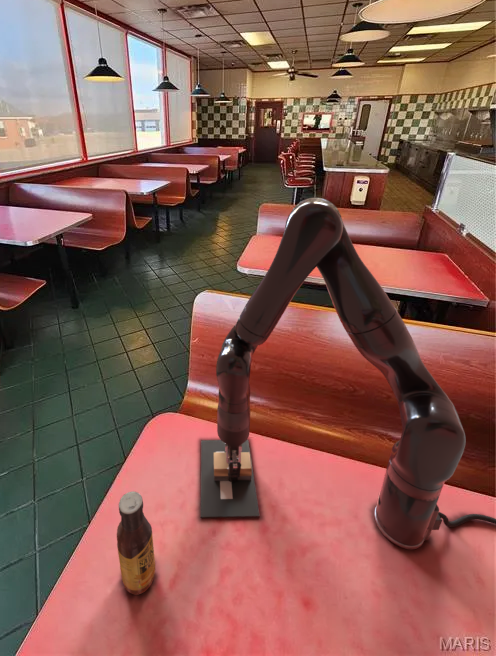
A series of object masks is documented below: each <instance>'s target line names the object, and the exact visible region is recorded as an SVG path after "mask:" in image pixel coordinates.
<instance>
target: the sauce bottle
mask: <svg viewBox="0 0 496 656" xmlns="http://www.w3.org/2000/svg"><path fill="white" fill-rule="evenodd" d="M118 513H119V515H120V522H119V523H118V526H117V529H116V546H117V547H116V548H117V555H118V561H119V568H120V574H121V576H120V577H121V581H122V583H123V586H124V588H125V590H126V591H127V592H128V593H129V594H131V595H136V596H137V595H141V594H143V593H145V592H146V591H147V590H148V589H149V588H150V587H151V585H152V583H153V581H154V579H155V572H156V558H155V549H154V538H153V537H154V536H153V528H152V524H151V523H150V522H149V520H148V519H147V518H146V516H145V514H144V500H143V496H142V495H141V493H139V492H138V491H135V490H133V491H128V492H126V493H125V494H123V495H122V497H120V499H119V502H118Z"/></svg>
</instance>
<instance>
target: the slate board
mask: <svg viewBox="0 0 496 656" xmlns="http://www.w3.org/2000/svg"><path fill="white" fill-rule="evenodd" d="M200 442H201V443H200V450H201V451H200V519H227V518H230V519H231V518H232V519H234V518H236V519H237V518H260V517H261V515H260V509H259V502H258V497H257V496H258V495H257V489H256V481H255V474H254V468H253V462H252V454H251V449H250V441H249V439H247V440H246V441H245V442H244V443H243V444H242V451H241V452H250V459H251V466H252V474H251V480H238V481H236V482H230V481H228V480H222V481H214V453H217V452H226V451H225V443H224V442H223V441H222V440H221V439H201V441H200Z"/></svg>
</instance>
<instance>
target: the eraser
mask: <svg viewBox="0 0 496 656" xmlns="http://www.w3.org/2000/svg"><path fill="white" fill-rule="evenodd" d="M250 454H251V451H250V452H241V469H240V477H238V480H251V474H252V467H253V465H252V466H251V461H252V458H251V459H250ZM228 456H229V452H228ZM229 457H230V456H229ZM237 457H238V456H237ZM222 480H228V463H227V462H226V452H217V453H214V481H222Z"/></svg>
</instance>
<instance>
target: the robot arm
mask: <svg viewBox="0 0 496 656" xmlns="http://www.w3.org/2000/svg"><path fill="white" fill-rule="evenodd" d="M280 239H281V240H280V243H279V245H278V249H277V251H276V253H275V255H274V258H273V260H272V262H271V264H270V266H269V268H268V269H267V271H266V273H265V275H264V276H263V278H262V279H261V281H260V282H259V284H258V285H257V287H255V289H254V291H253V292H252V293H251V296H250V297H249V299H248V300H247V302H246V304H245V305H244V308H243V309H242V310H241V313H240V315H239V317H238V318H237V320H236V323H235V324H234V325H233V327H232V328H231V329H230V331H228V333H227V335H226V336H225V338H224V340H223V342H222V344H221V347H220V350H219V354H218V356H217V359H216V364H215V365H216V366H215V372H216V382H217V386H218V404H217V410H216V413H217V414H216V418H217V419H216V432H217V436H218V438H219V440H222V441H223V442H224V443H225V451H226V462H227V463H228V481H230V482H236V481H238V477H240V469H241V451H242V444H243V443H244V442H245V441H246V440H249V438H250V430H251V429H250V428H251V385H250V379H251V378H250V377H251V370H252V369H251V368H252V363H253V358H254V357H253V356H254V353H255V351H256V349H257V348H258V347H259V346H261V345H263V344H264V343H266V341H267V340H268V339H269V338H270V336H271V335H272V333H273V331H274V329H275V328H276V327H277V325H278V323H279V322H280V320H281V318H282V317H283V315H284V314H285V312H286V310H287V308H288V307H289V305H290V304H291V301H292V300H293V298H294V296H295V295H296V294H297V292H298V290H299V289H300V288H301V286H303V284H304V282H305V281H306V279H307V278H308V277H309V276H310V274H311V273H312V272H313V271H314V270H315V269H317V270H318V272H319V274H320V275H321V277H322V279H323V281H324V283H325V285H326V289H327V291H328V294H329V297H330V299H331V302H332V305H333V307H334V311H335V312H336V314H337V317H338V319H339V322H340V323H341V325H342V327H343V329H344V330H345V333H346V334H347V335H348V337H349V338H350V340H351V342H352V344H353V345H354V347H355V348H356V349H357V351H358V352H359V354H360V355H361V356H362V357H363V358H364V359H365V360H366V361H368V363H370V364H371V365H372V366H373V367H375V368H376V369H377V370H378V371H379V372H380V373H381V374H382V375H383V376H384V378H385V380H386V381H387V383H388V385H389V387H390V389H391V391H392V393H393V395H394V397H395V400H396V402H397V405H398V409H399V416H400V420H401V421H400V422H401V428H402V429H401V435H400V438H399V440H397V441H396V442H395V443H393V445H392V447H391V451H390V455H389V458H388V462H387V465H386V470H385V473H384V477H383V479H382V484H381V488H380V491H379V494H378V496H377V497H378V498H377V503H376V506H375V508H374V513H373V517H374V521H375V524H376V526H377V528H378V529H379V531H380V533H381V534H382V535H383V536H384V537H385V538H386V539H387V540H388V541H389V542H390V543H392V544H393V545H395V546H397V547H399V548H402V549H406V550H416V549H418V548H420V547H421V546H423V544H424V541H429V539H430V537H431V534H432V531H439V530H440V527H441V525H442V522H443V523H444V524H443V525H445V526H447V527H448V528H455V527H458V526H461V525H463V524H464V523H467V522H469V521H473V520H475V521H485V522H487V523H488V522H489V523H491V524H495V525H496V518H495V517H493V516H489V515H486V514H485V515H484V514H481V513H480V514H479V513H468V514H465V515H463V516H460V517H458V518H456V519H454V520H451V521H450V520H449V518H448V516H447V515H446V514H445V513H443V512H441V511H440V508H439V505H438V501H439V498H440V496H441V493H442V491H443V487H444V484H445V482H447V481H448V480H450V479H451V478H452V477H453V475H454V473H455V472H456V469H457V467H458V465H459V463H460V461H461V459H462V456H463V454H464V452H465V447H466V443H467V442H466V440H467V439H466V437H467V436H466V433H465V429H464V428H463V424H462V421H461V419H460V417H459V413H458V411H457V409H456V407H455V405H454V403H453V401H452V400H451V398H450V397H449V396H448V395H447V393H446V392H445V391H444V390H443V388H442V387H441V385H440V384H439V383H438V382H437V380H436V379H435V377H434V376H433V375H432V373H431V372H430V371H429V370H428V368H427V367H426V365H425V363H424V362H423V360H422V358H421V355H420V353H419V350H418V348H417V346H416V344H415V341H414V339H413V337H412V335H411V334H410V332H409V330H408V327H407V326H406V324H405V321H404V320H403V318H402V317H401V315H400V313H399V311H398V310H397V308H396V306H395V304H394V303H393V302H392V301H391V298H389V296H388V294H387V293H386V291H385V290H384V288H383V287H382V286H381V284H380V283H379V282H378V280H377V279H376V277H375V276H374V275H373V273H372V272H371V271H370V270H369V268H368V267H367V266H366V264H365V263H364V261H363V260H362V259H361V257H360V255H359V253H358V252H357V250H356V248H355V246H354V244H353V242H352V239H351V238H350V235H349V233H348V231H347V229H346V226H345V224H344V221H343V219H342V215H341V213H340V209H338V207H337V206H336V205H335V204H334V203H332V202H331V201H329V200H327V199H325V198H321V197H309V198H305V199H303V200H302V201H299V203H297V204H296V205H295V207H293V208H292V210H291V212H289V215H288V216H287V219H286V220H285V227H284V231H283V233H282V237H281V238H280ZM228 452H229V456H230V457H229V456H228ZM237 456H238V457H237Z"/></svg>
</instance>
